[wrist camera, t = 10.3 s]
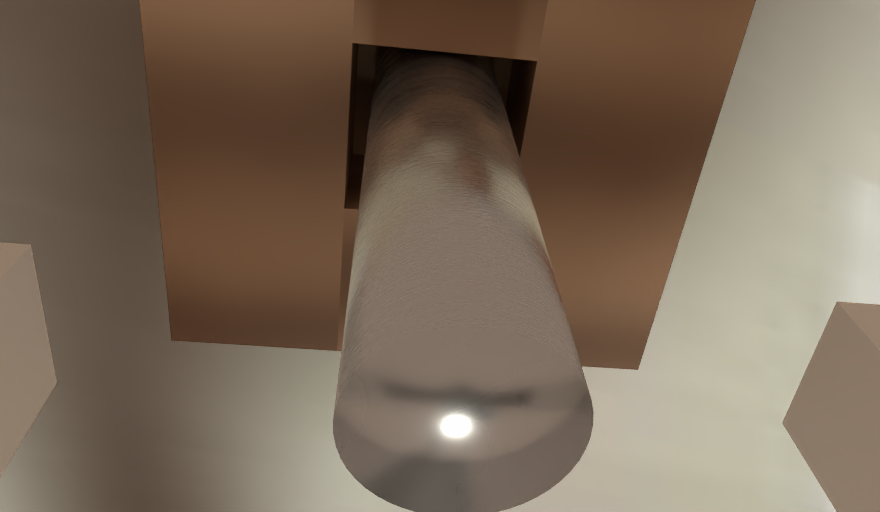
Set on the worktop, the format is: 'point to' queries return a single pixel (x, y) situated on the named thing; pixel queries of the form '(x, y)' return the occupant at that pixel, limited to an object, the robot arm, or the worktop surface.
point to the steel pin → (453, 304)
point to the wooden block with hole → (345, 136)
